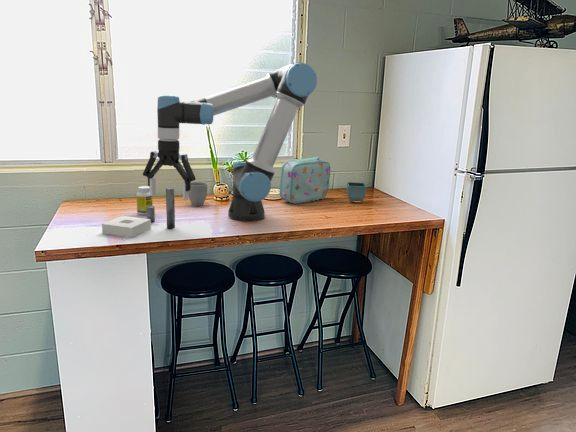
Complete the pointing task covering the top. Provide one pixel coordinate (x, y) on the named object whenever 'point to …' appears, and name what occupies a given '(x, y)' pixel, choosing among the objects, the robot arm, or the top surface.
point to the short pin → (151, 213)
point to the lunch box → (304, 180)
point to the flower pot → (356, 191)
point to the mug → (197, 193)
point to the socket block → (126, 226)
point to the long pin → (170, 208)
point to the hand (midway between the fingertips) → (169, 197)
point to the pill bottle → (143, 199)
